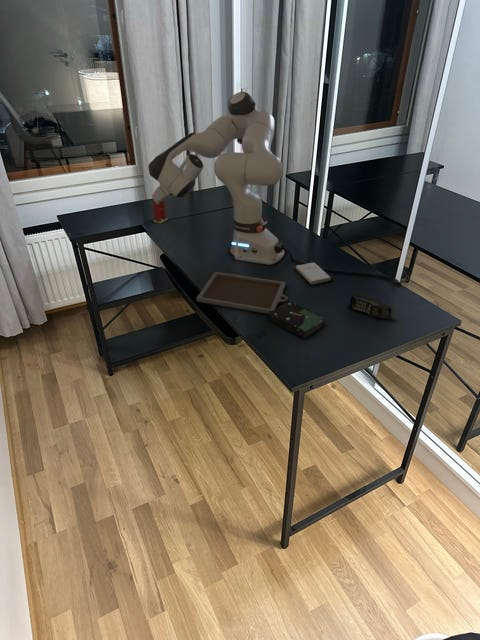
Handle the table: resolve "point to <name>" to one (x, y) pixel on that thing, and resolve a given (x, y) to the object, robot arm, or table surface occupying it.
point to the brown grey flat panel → (243, 292)
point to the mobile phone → (370, 307)
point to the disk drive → (296, 319)
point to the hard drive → (313, 273)
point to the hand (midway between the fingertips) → (164, 199)
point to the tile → (161, 220)
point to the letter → (159, 211)
